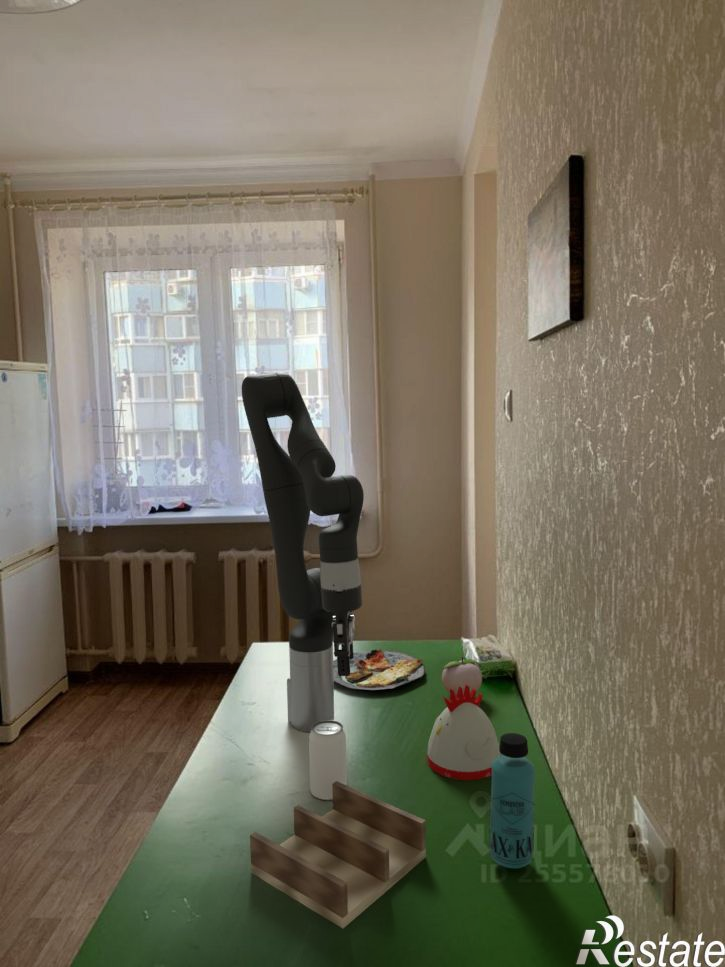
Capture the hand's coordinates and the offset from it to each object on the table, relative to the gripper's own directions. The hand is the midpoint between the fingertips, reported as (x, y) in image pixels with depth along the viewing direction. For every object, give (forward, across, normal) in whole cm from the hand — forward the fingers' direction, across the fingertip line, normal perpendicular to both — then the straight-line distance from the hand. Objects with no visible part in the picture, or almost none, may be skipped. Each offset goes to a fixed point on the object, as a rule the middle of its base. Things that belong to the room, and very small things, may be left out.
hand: (346, 667), depth 137 cm
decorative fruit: (+20, -29, +23) cm, 42 cm away
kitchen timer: (+20, -1, +21) cm, 29 cm away
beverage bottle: (+21, +30, +26) cm, 44 cm away
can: (+19, +10, -4) cm, 22 cm away
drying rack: (+19, +31, 0) cm, 36 cm away
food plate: (+19, -43, +3) cm, 47 cm away
